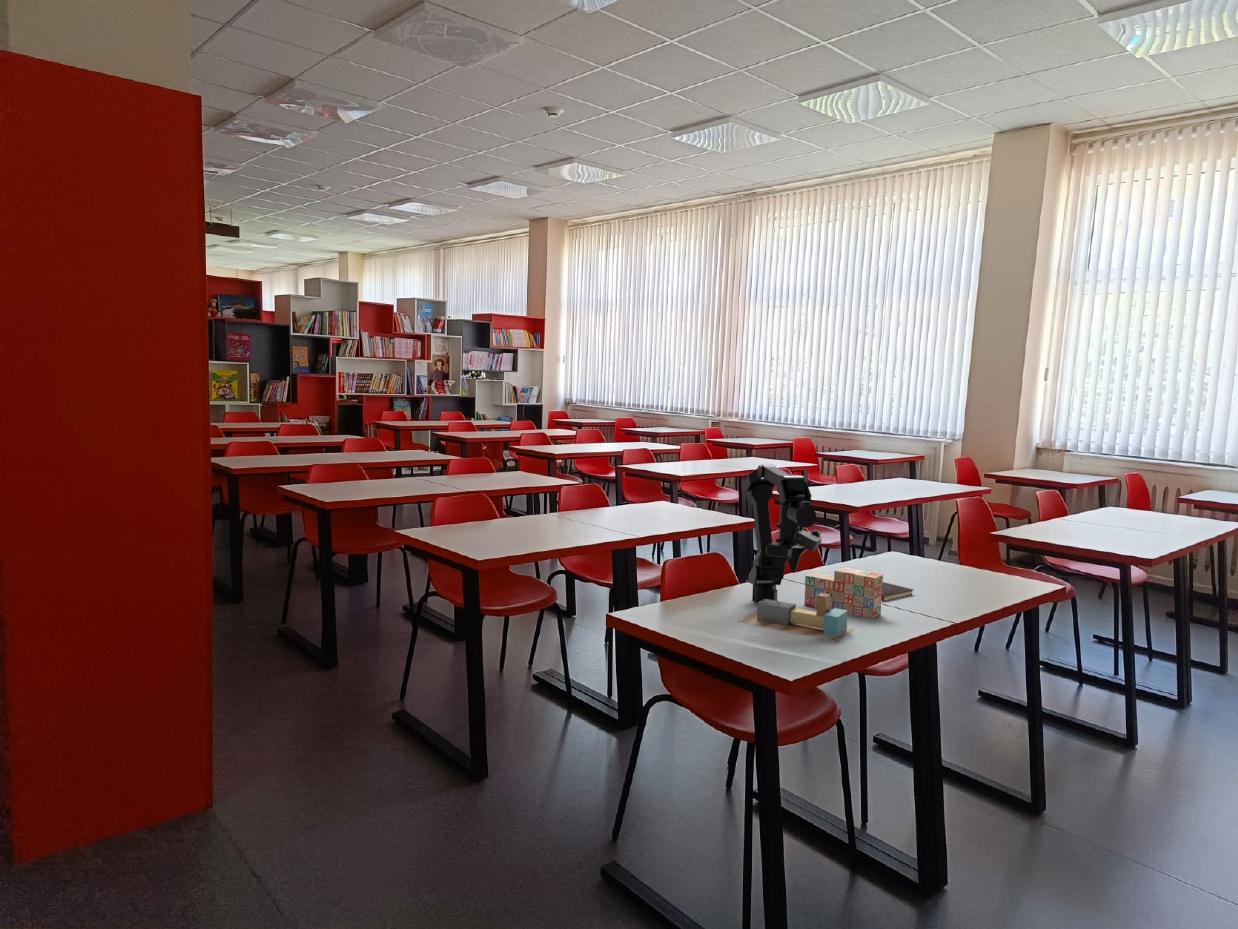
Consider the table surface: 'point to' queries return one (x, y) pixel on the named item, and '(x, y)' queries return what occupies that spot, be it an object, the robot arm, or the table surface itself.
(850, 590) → the stack of blocks
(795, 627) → the base board
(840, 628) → the socket block
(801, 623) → the l-shaped wooden step
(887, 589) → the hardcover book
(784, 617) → the sleeve
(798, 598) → the table surface
